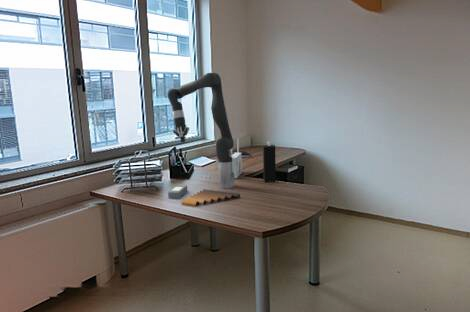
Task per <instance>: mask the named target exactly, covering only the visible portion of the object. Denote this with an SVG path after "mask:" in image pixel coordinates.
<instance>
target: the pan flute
mask: <svg viewBox="0 0 470 312" xmlns="http://www.w3.org/2000/svg"><path fill="white" fill-rule="evenodd" d="M240 198H241V194H240V193H239V192H238V193H237V192H228V191H223V190H222V191H220V190H212V189H205V188H204V189H203V190H200V191H199V192H196V193H193V195H189V197H188V196H186V197H185V198H182V199H181V205H184V206H190V207H198V206H204V205H206V204H208V205H209V204H211V205H212V204H213V203H219V202H226V201H227V200H228V201H232V200H234V199H240Z"/></svg>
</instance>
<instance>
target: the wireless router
mask: <svg viewBox="0 0 470 312" xmlns="http://www.w3.org/2000/svg"><path fill="white" fill-rule="evenodd" d="M236 144H237V146H236V147H237V150H234V147H233V148H232V149H231V150H229V155H230V156H232V155H233V154H234V153H236V152H237V153H242V159H243V158H250V157H251V156H252V155H251V154H250V153H249V152H248V151H246V150H240V138H239V137H238V138H237V143H236Z"/></svg>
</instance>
